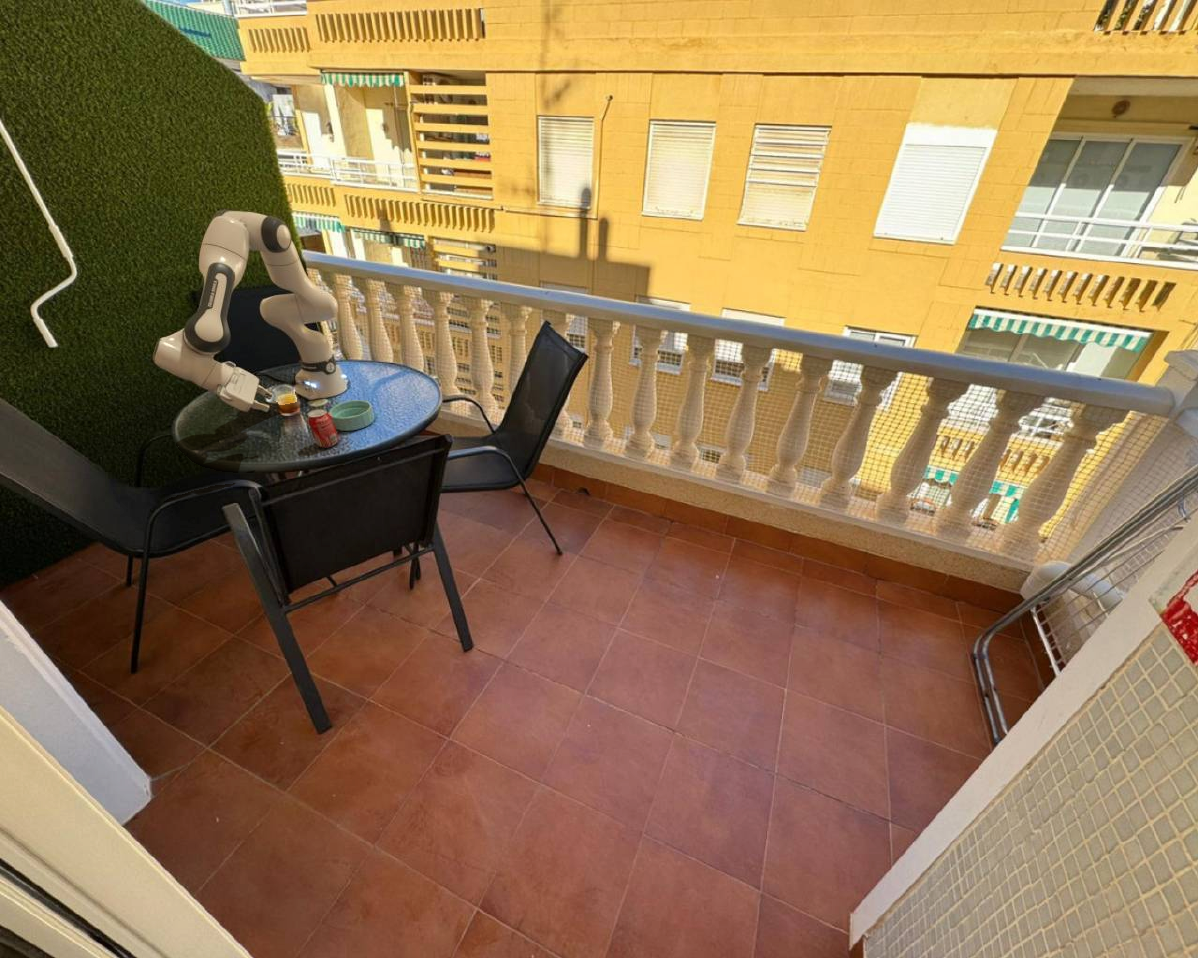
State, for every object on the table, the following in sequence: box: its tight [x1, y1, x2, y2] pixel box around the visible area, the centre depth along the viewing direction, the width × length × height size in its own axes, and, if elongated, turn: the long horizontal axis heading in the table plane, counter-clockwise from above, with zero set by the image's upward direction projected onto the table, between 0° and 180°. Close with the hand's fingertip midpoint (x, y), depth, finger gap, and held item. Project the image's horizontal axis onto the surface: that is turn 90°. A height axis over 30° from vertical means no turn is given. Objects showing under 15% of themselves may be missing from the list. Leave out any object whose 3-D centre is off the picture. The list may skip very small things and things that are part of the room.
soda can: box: [307, 408, 340, 449], centre depth 168 cm, size 7×7×12 cm
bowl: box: [328, 399, 376, 432], centre depth 182 cm, size 14×14×6 cm
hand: (270, 402), depth 157 cm, fingers open, 8 cm apart
